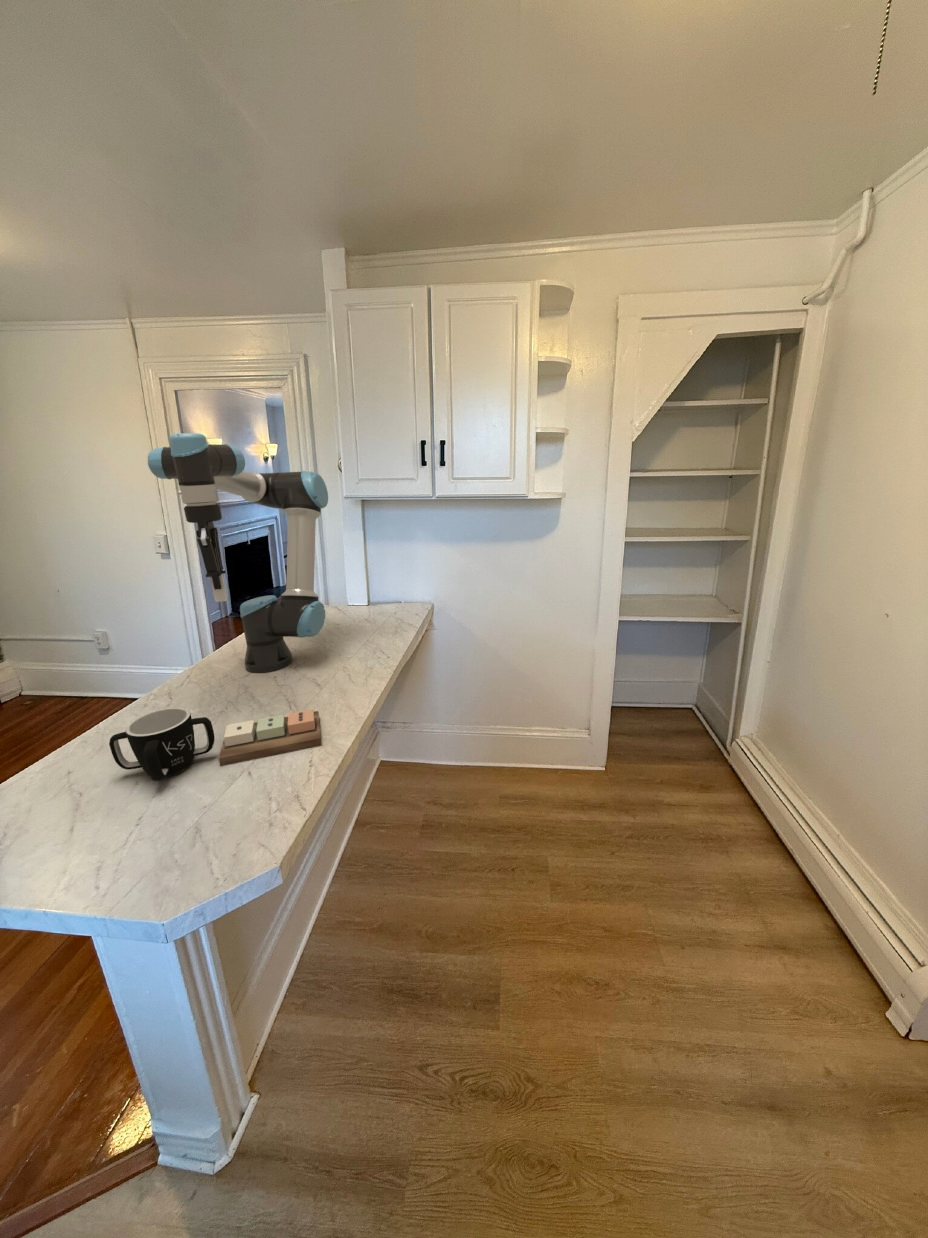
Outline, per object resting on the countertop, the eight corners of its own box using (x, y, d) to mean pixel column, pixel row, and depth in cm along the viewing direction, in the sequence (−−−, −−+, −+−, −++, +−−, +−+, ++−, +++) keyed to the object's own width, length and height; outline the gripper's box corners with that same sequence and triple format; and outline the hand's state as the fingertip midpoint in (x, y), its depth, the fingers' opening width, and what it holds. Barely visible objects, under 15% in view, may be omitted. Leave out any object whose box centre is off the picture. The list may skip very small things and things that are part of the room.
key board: (228, 734, 119) (227, 727, 118) (319, 717, 125) (318, 710, 125) (220, 766, 106) (218, 758, 106) (321, 745, 113) (320, 737, 112)
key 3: (289, 722, 119) (288, 712, 118) (314, 717, 121) (313, 708, 120) (289, 734, 114) (287, 724, 113) (315, 729, 115) (313, 719, 114)
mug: (151, 800, 96) (136, 749, 92) (114, 776, 104) (99, 728, 101) (225, 758, 109) (215, 712, 106) (187, 740, 117) (176, 696, 114)
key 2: (260, 727, 117) (258, 718, 116) (285, 723, 119) (283, 713, 118) (258, 740, 112) (255, 730, 111) (284, 735, 113) (283, 725, 112)
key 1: (229, 733, 115) (227, 723, 114) (255, 728, 117) (253, 719, 116) (225, 746, 110) (223, 736, 109) (253, 741, 111) (251, 731, 110)
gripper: (189, 503, 115) (209, 596, 123) (176, 507, 104) (199, 609, 111) (223, 501, 118) (240, 592, 125) (214, 504, 106) (234, 605, 113)
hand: (221, 600), depth 118 cm, fingers closed
